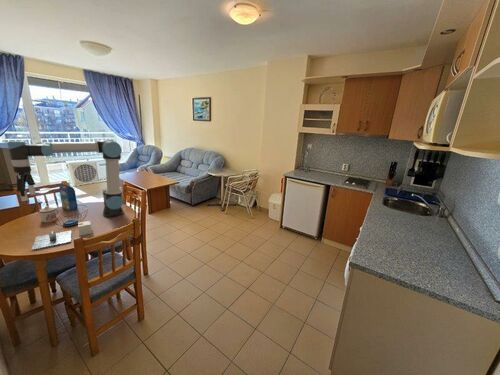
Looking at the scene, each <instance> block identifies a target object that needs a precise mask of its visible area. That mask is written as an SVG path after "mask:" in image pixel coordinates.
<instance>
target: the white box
mask: <svg viewBox="0 0 500 375" xmlns="http://www.w3.org/2000/svg"><path fill="white" fill-rule="evenodd" d="M77 224H78V225H77V227H78V234H79V236H85V235H89V234H92V233H93V232H92V231H93V230H92V229H93V228H92V222H91V220H87V221H82V222H81V221H80V222H77Z"/></svg>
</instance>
